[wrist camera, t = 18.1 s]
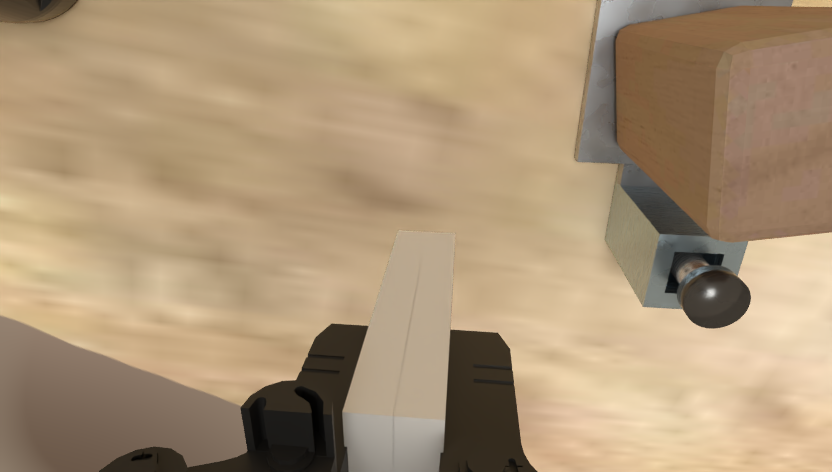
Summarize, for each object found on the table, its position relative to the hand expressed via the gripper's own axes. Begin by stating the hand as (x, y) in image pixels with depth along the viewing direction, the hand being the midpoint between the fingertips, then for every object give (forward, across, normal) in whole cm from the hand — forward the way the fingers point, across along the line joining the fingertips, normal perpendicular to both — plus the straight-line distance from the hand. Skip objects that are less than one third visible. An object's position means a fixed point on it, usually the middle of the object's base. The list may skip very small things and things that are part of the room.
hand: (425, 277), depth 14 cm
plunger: (+28, +18, -11) cm, 35 cm away
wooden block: (+33, +18, +1) cm, 38 cm away
